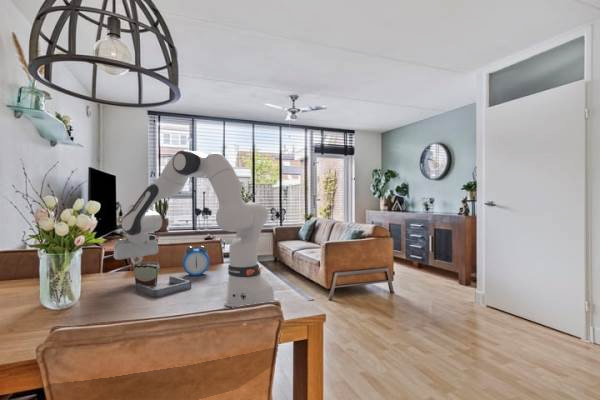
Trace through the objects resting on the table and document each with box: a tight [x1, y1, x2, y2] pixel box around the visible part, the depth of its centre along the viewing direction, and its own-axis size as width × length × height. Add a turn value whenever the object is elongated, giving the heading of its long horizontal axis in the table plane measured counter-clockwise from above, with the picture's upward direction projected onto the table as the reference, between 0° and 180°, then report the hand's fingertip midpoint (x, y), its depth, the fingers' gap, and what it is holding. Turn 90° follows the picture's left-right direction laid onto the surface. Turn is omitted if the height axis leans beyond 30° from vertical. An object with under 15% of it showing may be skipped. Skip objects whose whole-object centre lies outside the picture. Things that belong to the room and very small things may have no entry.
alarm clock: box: [182, 245, 210, 277], centre depth 166 cm, size 13×6×15 cm, turn 108°
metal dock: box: [135, 275, 192, 299], centre depth 141 cm, size 16×17×3 cm
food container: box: [132, 261, 161, 288], centre depth 148 cm, size 12×6×10 cm, turn 84°
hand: (136, 265), depth 154 cm, fingers closed
